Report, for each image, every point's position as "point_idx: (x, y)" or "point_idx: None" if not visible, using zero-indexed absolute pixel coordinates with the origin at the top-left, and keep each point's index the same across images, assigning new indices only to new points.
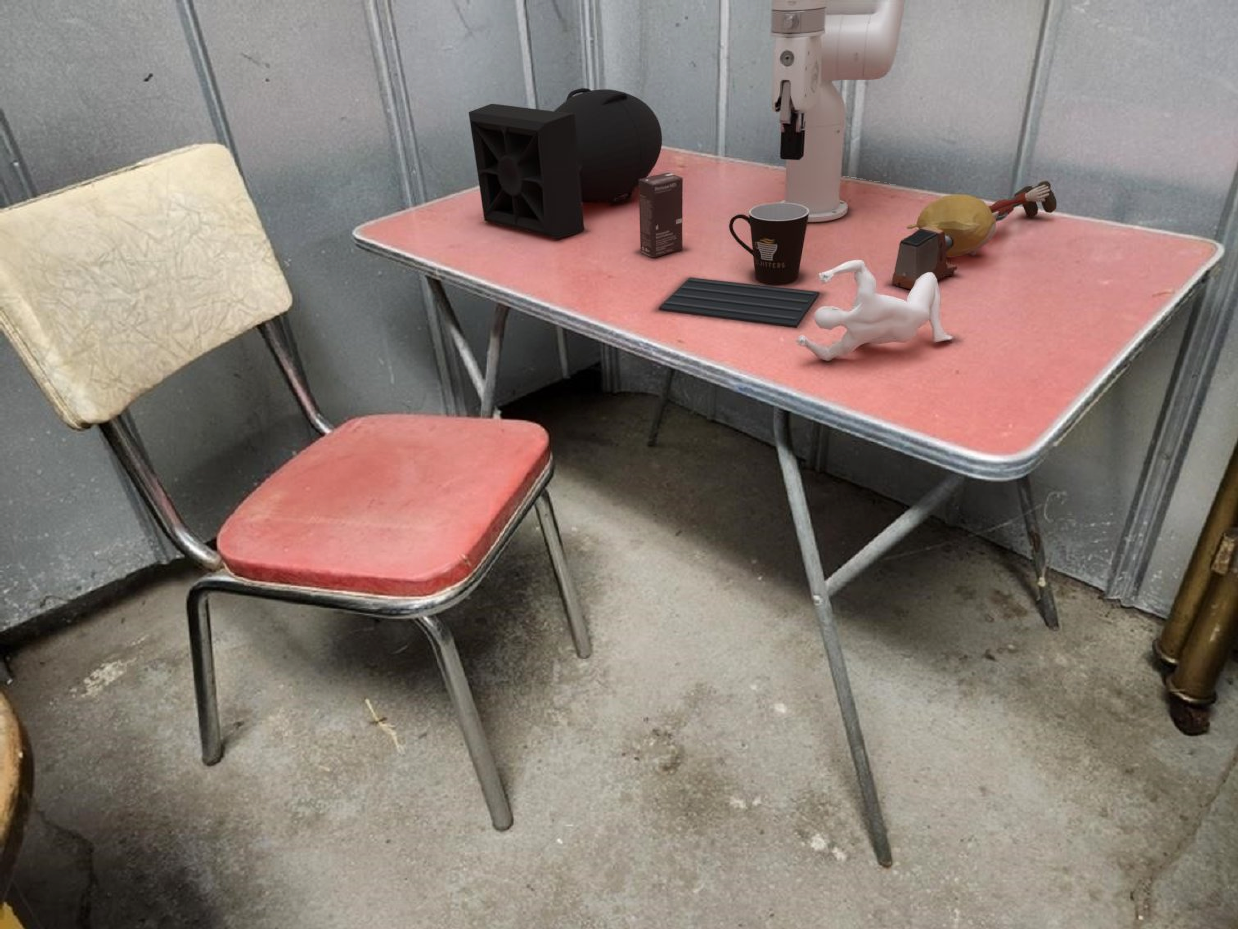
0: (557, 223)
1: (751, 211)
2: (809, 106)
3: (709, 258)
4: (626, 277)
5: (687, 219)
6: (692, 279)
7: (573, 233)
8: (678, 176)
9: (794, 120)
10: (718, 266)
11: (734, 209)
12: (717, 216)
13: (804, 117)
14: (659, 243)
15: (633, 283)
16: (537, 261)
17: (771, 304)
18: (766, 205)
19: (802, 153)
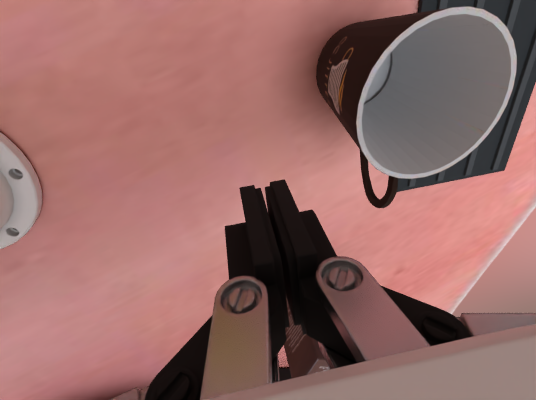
0: None
1: (431, 169)
2: (505, 370)
3: (301, 211)
4: (397, 257)
5: (154, 318)
6: (411, 182)
7: (283, 369)
8: (313, 368)
9: (453, 321)
10: (330, 183)
11: (58, 297)
12: (112, 297)
13: (253, 337)
14: None
15: (415, 240)
16: None
17: (498, 11)
18: (377, 161)
19: (256, 193)
